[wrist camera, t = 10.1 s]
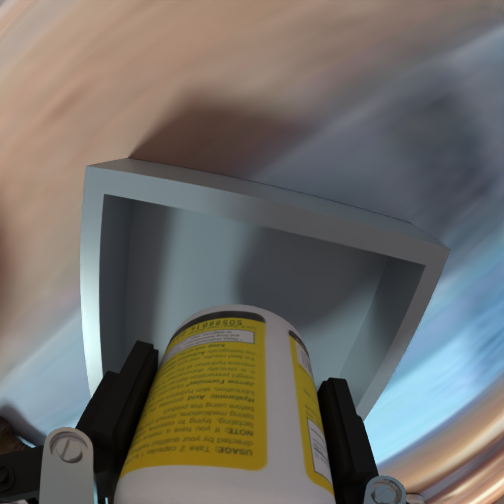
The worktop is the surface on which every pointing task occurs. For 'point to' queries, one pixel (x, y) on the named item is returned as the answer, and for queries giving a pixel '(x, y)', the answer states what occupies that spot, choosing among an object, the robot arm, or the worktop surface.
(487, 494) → the worktop surface
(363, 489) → the robot arm
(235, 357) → the supplement bottle
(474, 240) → the worktop surface
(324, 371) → the tray
